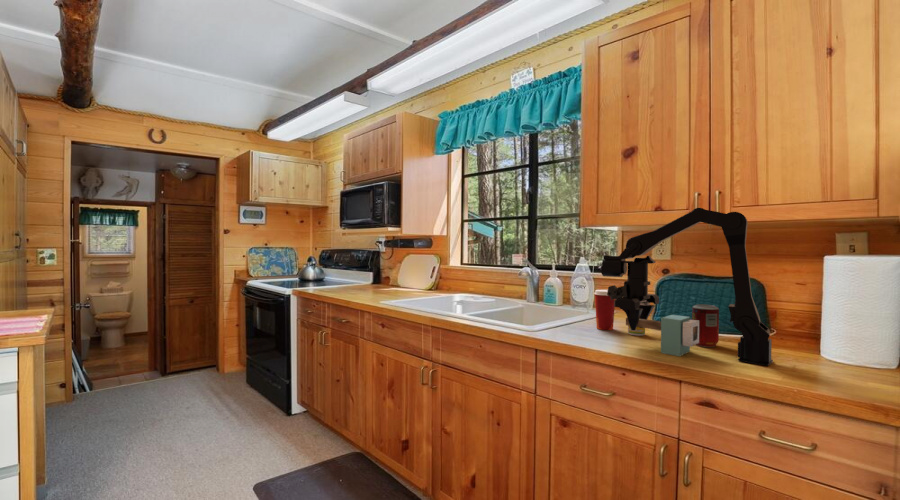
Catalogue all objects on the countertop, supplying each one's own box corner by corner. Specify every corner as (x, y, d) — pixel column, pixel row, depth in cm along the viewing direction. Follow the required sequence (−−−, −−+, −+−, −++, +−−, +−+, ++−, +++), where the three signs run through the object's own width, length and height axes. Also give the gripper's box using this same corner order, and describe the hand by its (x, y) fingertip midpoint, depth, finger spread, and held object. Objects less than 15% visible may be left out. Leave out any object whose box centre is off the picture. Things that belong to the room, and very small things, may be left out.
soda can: (724, 347, 127) (724, 306, 127) (704, 348, 126) (704, 307, 126) (705, 342, 134) (706, 303, 134) (686, 343, 133) (686, 304, 133)
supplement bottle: (646, 336, 142) (647, 307, 142) (629, 335, 143) (630, 307, 143) (642, 333, 148) (643, 305, 147) (626, 332, 149) (626, 304, 148)
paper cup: (620, 329, 153) (621, 291, 152) (603, 331, 150) (604, 292, 150) (605, 326, 160) (605, 289, 160) (589, 327, 157) (589, 289, 157)
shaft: (695, 333, 119) (695, 325, 118) (692, 334, 117) (692, 326, 117) (628, 324, 132) (628, 317, 132) (625, 325, 131) (625, 318, 131)
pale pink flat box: (698, 343, 120) (699, 320, 120) (691, 346, 115) (691, 323, 115) (690, 341, 121) (690, 319, 121) (682, 345, 117) (682, 322, 117)
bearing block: (689, 351, 122) (690, 316, 122) (679, 356, 117) (680, 320, 117) (671, 348, 126) (671, 314, 126) (660, 352, 120) (661, 317, 120)
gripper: (625, 275, 141) (624, 321, 142) (597, 278, 129) (597, 329, 129) (660, 277, 133) (659, 326, 133) (634, 280, 120) (633, 335, 121)
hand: (637, 329), depth 129 cm, fingers open, 5 cm apart
